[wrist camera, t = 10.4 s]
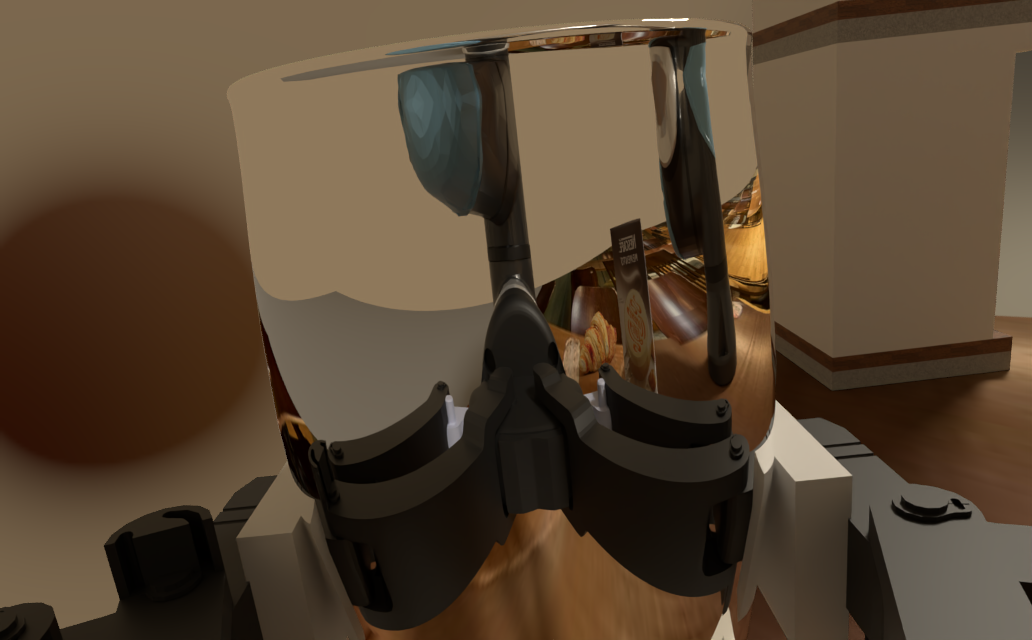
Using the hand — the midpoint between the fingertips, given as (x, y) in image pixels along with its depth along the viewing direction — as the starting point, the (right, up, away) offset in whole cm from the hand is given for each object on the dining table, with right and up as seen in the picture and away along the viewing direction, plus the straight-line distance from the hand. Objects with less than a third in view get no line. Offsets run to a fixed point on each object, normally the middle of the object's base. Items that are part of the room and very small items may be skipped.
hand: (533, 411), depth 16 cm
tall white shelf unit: (+23, 0, +30) cm, 38 cm away
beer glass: (+1, -9, -3) cm, 10 cm away
